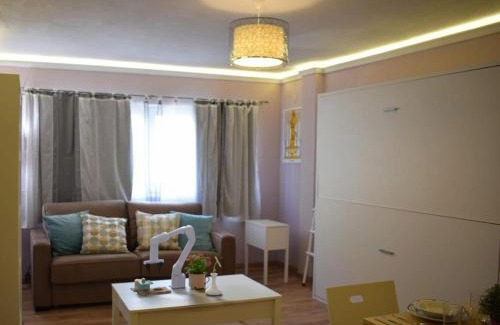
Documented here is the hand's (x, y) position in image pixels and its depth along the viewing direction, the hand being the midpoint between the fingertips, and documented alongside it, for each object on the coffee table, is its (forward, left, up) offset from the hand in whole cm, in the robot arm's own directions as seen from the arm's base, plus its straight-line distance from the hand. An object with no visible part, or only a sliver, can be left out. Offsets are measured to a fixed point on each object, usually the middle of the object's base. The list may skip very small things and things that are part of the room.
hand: (153, 273), depth 359 cm
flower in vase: (-31, +34, -10) cm, 47 cm away
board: (+4, +14, -9) cm, 17 cm away
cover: (+10, +14, -8) cm, 19 cm away
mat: (+11, +2, -9) cm, 15 cm away
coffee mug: (-29, +16, -10) cm, 34 cm away
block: (+11, +2, -9) cm, 14 cm away
